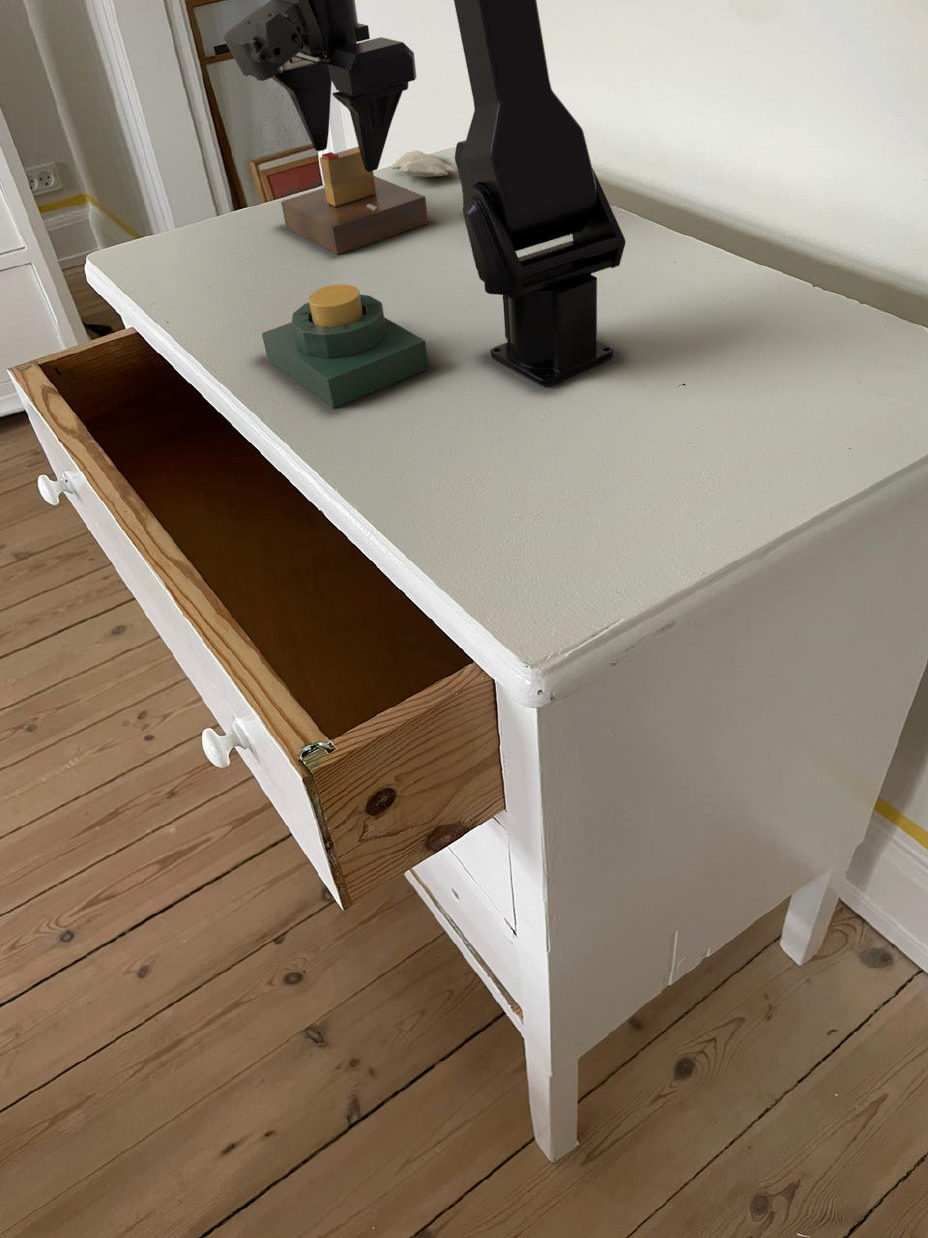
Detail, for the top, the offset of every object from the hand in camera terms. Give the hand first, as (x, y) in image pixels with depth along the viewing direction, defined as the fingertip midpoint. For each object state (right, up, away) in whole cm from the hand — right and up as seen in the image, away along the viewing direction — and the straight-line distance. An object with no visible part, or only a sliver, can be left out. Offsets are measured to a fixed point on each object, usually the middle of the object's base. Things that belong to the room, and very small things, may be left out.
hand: (345, 159), depth 89 cm
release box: (+2, -23, -17) cm, 29 cm away
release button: (+2, -21, -20) cm, 29 cm away
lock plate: (+1, -5, +4) cm, 6 cm away
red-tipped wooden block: (0, -3, +2) cm, 3 cm away
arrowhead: (+7, +3, +9) cm, 12 cm away
